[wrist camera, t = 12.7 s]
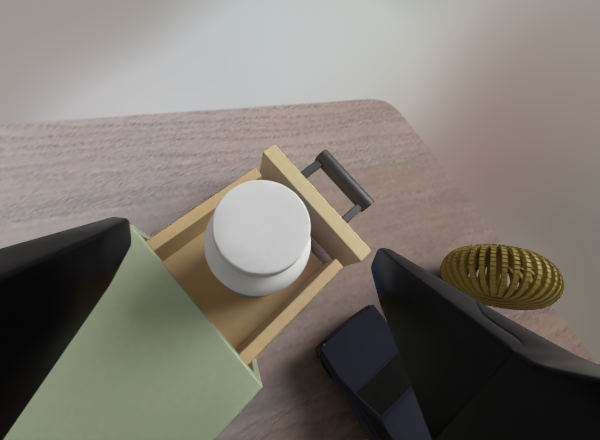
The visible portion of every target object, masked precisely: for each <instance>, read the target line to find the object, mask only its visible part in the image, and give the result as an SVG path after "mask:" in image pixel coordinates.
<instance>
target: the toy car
mask: <svg viewBox="0 0 600 440" xmlns="http://www.w3.org/2000/svg"><path fill="white" fill-rule="evenodd" d="M337 329H338V330H337ZM337 329H335V330H334V331H333V332H332V333H331V334H332V335H331V334H329V335H328V336H327V337H326V338H325V339H324V340H323V341H322V342H321V343H320V344H319V345H318V346H317V347H316V348H315V349H317V350H318V351H319V353H320V356H318V358H319V359H320V361H321V363H322V365H323V366H324V368H325V370H326V371H327V373H328V374H329V375H330V377H331V378H332V379H333V380H334V381H336V383H337V384H338V386H339V388H340V389H341V391H342V392H343V394H344V395H345V397H346V398H347V400H348V402H349V403H350V405H351V407H352V409H353V410H354V412H355V414H356V415H357V417H358V419H359V421H360V422H361V424H362V426H363V428H364V429H365V431H366V433H367V434H368V436H369V438H370V439H371V440H432V439H431V436H430V434H429V431H428V428H427V426H426V423H425V421H424V418H423V415H422V413H421V410H420V407H419V405H418V402H417V399H416V397H415V394H414V392H413V389H412V386H411V384H410V381H409V378H408V376H407V373H406V371H405V368H404V365H403V363H402V360H401V357H400V355H399V352H398V349H397V347H396V344H395V342H394V339H393V336H392V334H391V331H390V328H389V326H388V324H387V322H386V321H385V319H384V318H383V317H382V315H381V314H380V313H379V311H378V310H377V309H376V307H375V306H374V305H368V306H366V307H364V308H363V309H361V310H360V311H359V312H357V313H356V314H354V315H353V316H352V317H350V318H349V319H348V320H347V321H345V322H344V323H343V324H342V325H340V326H339V327H338V328H337ZM330 335H331V336H330ZM329 336H330V337H329ZM328 337H329V338H328ZM327 338H328V339H327ZM324 341H325V342H324ZM323 342H324V343H323ZM322 343H323V344H322ZM321 344H322V345H321ZM317 350H316V352H317ZM317 355H318V353H317Z"/></svg>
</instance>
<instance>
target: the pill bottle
mask: <svg viewBox="0 0 600 440" xmlns="http://www.w3.org/2000/svg"><path fill="white" fill-rule="evenodd" d="M310 233H311V223H310V217H309V213H308V211H307V208H306V207H305V205H304V203H303V202H302V200H301V199H300V198H299V197H298V195H297V194H296V193H295V192H293V191H292V190H290V189H289V188H288V187H286V186H284V185H282V184H280V183H277V182H273V181H268V180H253V181H248V182H245V183H242V184H239V185H237V186H236V187H234V188H232V189H231V190H229V191H228V192H227V193H226V194H225V195H224V196H223V197H222V199H221V200H220V201H219V203H218V204H217V206H216V209H215V211H214V214H213V215H212V217H211V219H210V220H209V223H208V225H207V227H206V231H205V235H204V252H205V256H206V260H207V263H208V265H209V267H210V269H211V271H212V273H213V274H214V275H215V277H216V278H217V279H218V280H219V281H220V282H221V283H222V284H224V285H225V286H226V287H228V288H229V289H230V290H231V291H233V292H234V293H236V294H238V295H241V296H244V297H262V296H266V295H270V294H273V293H276V292H279V291H281V290H283V289H284V288H286V287H288V286H289V285H290V284H292V283H293V282H294V281H295V280H296V279H297V278H298V277H299V275H300V274H301V273H302V271H303V270H304V268H305V266H306V264H307V261H308V259H309V255H310V250H311V237H310Z"/></svg>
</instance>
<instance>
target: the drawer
mask: <svg viewBox="0 0 600 440" xmlns="http://www.w3.org/2000/svg"><path fill="white" fill-rule="evenodd" d="M319 168H321V169H322V170H323V171H324V172H325V173H326V174H327V175H328V176H329V177H330V179H331V180H332V181H333V182H334V183H335V184H336V185H337V186H338V187H339V188H340V189H341V190H342V192H343V193H344V194H345V195H346V196H347V197H348V198H349V199H350V200H351V201H352V202H353V204H354V205H355V206H354V207H353V208H352V209H351V210H349V211H348V212H347V213H346V214H345V215H344V216H343V217H342V218H341V217H340V215H339V214H338V213H337V212H336V211H335V210H334V209H333V208H332V207H331V206H330V204H329V203H328V202H327V201H326V200H325V199H324V198H323V197H322V196H321V195H320V193H319V192H318V191H317V190H316V189H315V188H314V187H313V186H312V185H311V184H310V182H309V181H308V180H307V179H306V178H308V177H309V176H310V175H311V174H313V173H314V172H315V171H317V170H318V169H319ZM253 180H268V181H273V182H277V183H280V184H282V185H284V186H286V187H288V188H289V189H290V190H292V191H293V192H295V193H296V194H297V195H298V197H299V198H300V199H301V200H302V202H303V203H304V205H305V207H306V208H307V211H308V213H309V217H310V223H311V233H310V235H311V236H312V237H313V238H314V239H315V240H316V242H317V243H318V244H319V245H320V246H321V247H322V248H323V249H324V251H325V252H326V253H327V254H328V255H329V256H330V257H331V258H332V260H331V261H329V262H326V263H324V264H323V263H322V262H321V261H320V260H319V259H318V258H317V257H316V255H315V254H314V253H313V252H312V251H311V250H310V255H309V259H308V261H307V264H306V266H305V268H304V270H303V271H302V273H301V274H300V275H299V277H298V278H297V279H296V280H295V281H294V282H293V283H292V284H290V285H289V286H288V287H286V288H284V289H283V290H281V291H279V292H276V293H273V294H270V295H266V296H262V297H244V296H241V295H238V294H236V293H234V292H233V291H231V290H230V289H229V288H228V287H226V286H225V285H224V284H222V283H221V282H220V281H219V280H218V279H217V278H216V277H215V275H214V274H213V273H212V271H211V269H210V267H209V265H208V263H207V260H206V256H205V252H204V235H205V231H206V227H207V225H208V223H209V220H210V219H211V217H212V215H213V214H214V211H215V209H216V206H217V204H218V203H219V201H220V200H221V199H222V197H223V196H224V195H225V194H226V193H227V192H228V191H229V190H231V189H232V188H234V187H236V186H237V185H239V184H242V183H245V182H248V181H253ZM373 202H374V200H373V199H372V198H371V197H370V196H369V195H368V194H367V193H366V192H365V191H364V189H363V188H362V187H361V186H360V185H359V184H358V183H357V182H356V181H355V180H354V179H353V178H352V177H351V175H350V174H349V173H348V172H347V171H346V170H345V169H344V168H343V167H342V166H341V165H340V164H339V163H338V161H337V160H336V159H335V158H334V157H333V156H332V155H331V154H330V153H329V152H328V151H327V150H324V151H322V152H321V153H320V154H319V155H318V156H317V157H316V159H315V162H314V163H312V164H311V165H310V166H308V167H307V168H306V169H304V170H303V171H301V172H300V171H299V170H298V169H297V168H296V167H295V166H294V165H293V164H292V163H291V162H290V160H289V159H288V158H287V157H286V156H285V155H284V154H283V153H282V152H281V151H280V149H279V148H278V147H277V146H276V145H273V146H271V147H270V148H268V149H267V150H265V151H264V152H263V156H262V162H261V169H260V173H259V171H258V170H257V169H256V168H254V169H252V170H251V171H249V172H248V173H246V174H245V175H243V176H242V177H240V178H239V179H238V180H236V181H235V182H233V183H232V184H230V185H229V186H227V187H226V188H224V189H223V190H221V191H220V192H218V193H217V194H215V195H214V196H212V197H211V198H209V199H208V200H206V201H205V202H204V203H202V204H201V205H199V206H198V207H196V208H195V209H193V210H192V211H190V212H189V213H187V214H186V215H184V216H183V217H181V218H180V219H178V220H177V221H175V222H174V223H172V224H171V225H169V226H168V227H167V228H165V229H164V230H162V231H161V232H159V233H158V234H156V235H155V236H153V237H152V238H150V239H149V240H147V241H146V242H147V243H148V245H149V246H150V247H151V248H152V249H153V251H154V252H155V253H156V254H157V256H158V257H159V258H160V259H161V260H162V262H163V263H164V264H165V265H166V266H167V268H168V269H169V270H170V271H171V273H172V274H173V275H174V276H175V277H176V279H177V280H178V281H179V282H180V284H181V285H182V286H183V287H184V288H185V290H186V291H187V292H188V293H189V294H190V296H191V297H192V298H193V299H194V301H195V302H196V303H197V304H198V305H199V307H200V308H201V309H202V310H203V311H204V313H205V314H206V315H207V316H208V318H209V319H210V320H211V321H212V322H213V324H214V325H215V326H216V327H217V329H218V330H219V331H220V332H221V333H222V335H223V336H224V337H225V338H226V339H227V341H228V342H229V343H230V344H231V346H232V347H233V348H234V349H235V350H236V352H237V353H238V354H239V355H240V356H241V358H242V359H243V360H244V361H245V363H246V364H247V365H248V364H249V363H250V362H251V361H252V360H253V359H254V358H255V357H256V356H257V355H258V354H259V353H260V352H261V351H262V350H263V349H264V348H265V347H266V346H267V345H268V344H269V343H270V342H271V341H272V340H273V339H274V337H275V336H276V335H277V334H278V333H279V332H280V331H281V330H282V329H283V328H284V327H285V326H286V325H287V324H288V323H289V322H290V321H291V320H292V319H293V318H294V317H295V316H296V315H297V314H298V313H299V312H300V311H301V310H302V309H303V308H304V307H305V306H306V305H307V304H308V303H309V302H310V301H311V300H312V299H313V298H314V297H315V295H316V294H317V293H318V292H319V291H320V290H321V289H322V288H323V287H324V286H325V285H326V284H327V283H328V282H329V281H330V280H331V279H332V278H333V277H334V276H335V275H336V274H337V273H338V272H339V271H340V270H341V269H342V268H343V267H344V266H347V265H350V264H354V263H357V262H360V261H362V260H363V259H364V258H365V257H366V256H367V255H368V254H369V253H370V252H371V250H370V249H369V247H368V246H367V245H366V244H365V243H364V242H363V241H362V240H361V239H360V238H359V236H358V235H357V234H356V233H355V232H354V231H353V230H352V229H351V228H350V226H349V225H348V224H347V223H348V222H349V221H350V220H351V219H352V218H353V217H354V216H355V215H356V214H357V213H358V212H360V211H361V212H363V211H364V210H365V209H367V208H368V207H369V206H370V205H371V204H372V203H373Z"/></svg>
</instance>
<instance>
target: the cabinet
mask: <svg viewBox="0 0 600 440" xmlns="http://www.w3.org/2000/svg"><path fill="white" fill-rule="evenodd" d="M130 231H131V246H130V248H129V250H128V252H127V254H126V256H125V258H124V260H123V262H122V264H121V265H120V267H119V269H118V271H117V273H116V275H115V277H114V279H113V281H112V282H111V284H110V286H109V287H108V289H107V290H106V292H105V293H104V295H103V296H102V298H101V299H100V300H99V302H98V303H97V305H96V306H95V308H94V309H93V311H92V312H91V314H90V315H89V316H88V318H87V319H86V321H85V322H84V324H83V325H82V327H81V328H80V329H79V331H78V332H77V334H76V335H75V337H74V338H73V340H72V341H71V342H70V344H69V345H68V347H67V348H66V350H65V351H64V353H63V354H62V356H61V357H60V358H59V360H58V361H57V363H56V364H55V366H54V367H53V369H52V370H51V371H50V373H49V374H48V376H47V377H46V379H45V380H44V382H43V383H42V384H41V386H40V387H39V389H38V390H37V392H36V393H35V395H34V396H33V398H32V399H31V400H30V402H29V403H28V405H27V406H26V408H25V409H24V411H23V412H22V413H21V415H20V416H19V418H18V419H17V421H16V422H15V424H14V425H13V426H12V428H11V429H10V431H9V432H8V434H7V435H6V437H5V438H4V440H215V439H216V438H217V437H218V436H219V435H220V433H221V432H222V431H223V430H224V429H225V428H226V427H227V426H228V425H229V424H230V423H231V421H232V420H233V419H234V418H235V417H236V416H237V415H238V414H239V413H240V412H241V410H242V409H243V408H244V407H245V406H246V405H247V404H248V403H249V402H250V401H251V400H252V398H253V397H254V396H255V395H256V394H257V393H258V392H259V391H260V390H261V389H262V387H263V386H262V382H261V377H260V373H259V369H258V365H257V360H256V359H255V358H254V359H253V360H252V361H251V362H250V363H249V364H248V365H247V364H246V363H245V361H244V360H243V359H242V358H241V356H240V355H239V354H238V353H237V352H236V350H235V349H234V348H233V347H232V346H231V344H230V343H229V342H228V341H227V339H226V338H225V337H224V336H223V335H222V333H221V332H220V331H219V330H218V329H217V327H216V326H215V325H214V324H213V322H212V321H211V320H210V319H209V318H208V316H207V315H206V314H205V313H204V311H203V310H202V309H201V308H200V307H199V305H198V304H197V303H196V302H195V301H194V299H193V298H192V297H191V296H190V294H189V293H188V292H187V291H186V290H185V288H184V287H183V286H182V285H181V284H180V282H179V281H178V280H177V279H176V277H175V276H174V275H173V274H172V273H171V271H170V270H169V269H168V268H167V266H166V265H165V264H164V263H163V262H162V260H161V259H160V258H159V257H158V256H157V254H156V253H155V252H154V251H153V249H152V248H151V247H150V246H149V245H148V243H147V242H146V241H147V240H149V239H150V238H151V237H150V236H148V235H147V234H145V233H144V232H142V231H141V230H139V229H138V228H136V227H135V226H133V225H132V224H130Z"/></svg>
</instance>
